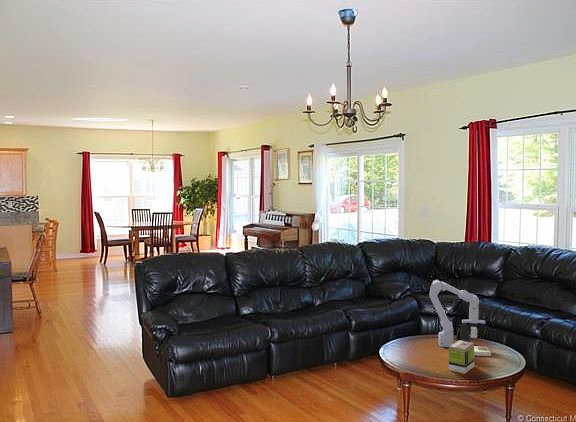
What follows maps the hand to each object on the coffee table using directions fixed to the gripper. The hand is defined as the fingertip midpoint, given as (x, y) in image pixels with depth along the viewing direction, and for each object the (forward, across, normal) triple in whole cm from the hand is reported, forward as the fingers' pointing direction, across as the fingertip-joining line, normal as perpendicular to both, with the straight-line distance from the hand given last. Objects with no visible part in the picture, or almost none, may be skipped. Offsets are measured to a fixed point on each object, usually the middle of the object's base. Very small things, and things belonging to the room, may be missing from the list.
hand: (473, 334), depth 355 cm
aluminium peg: (+2, 0, 0) cm, 2 cm away
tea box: (+9, -16, -42) cm, 46 cm away
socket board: (+9, -1, -12) cm, 15 cm away
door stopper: (+9, -4, +12) cm, 16 cm away
